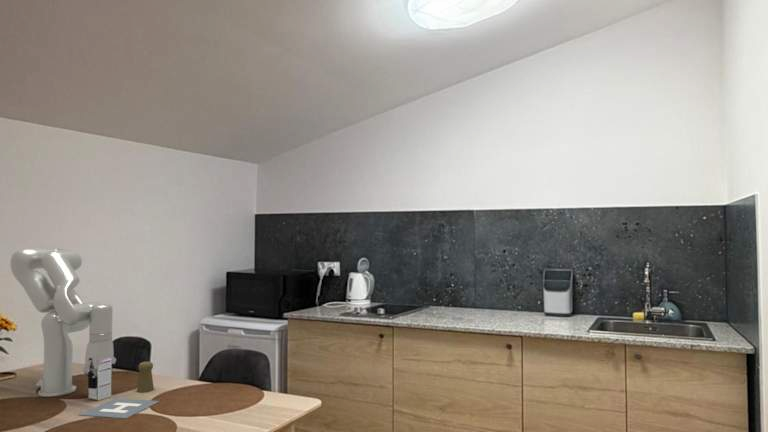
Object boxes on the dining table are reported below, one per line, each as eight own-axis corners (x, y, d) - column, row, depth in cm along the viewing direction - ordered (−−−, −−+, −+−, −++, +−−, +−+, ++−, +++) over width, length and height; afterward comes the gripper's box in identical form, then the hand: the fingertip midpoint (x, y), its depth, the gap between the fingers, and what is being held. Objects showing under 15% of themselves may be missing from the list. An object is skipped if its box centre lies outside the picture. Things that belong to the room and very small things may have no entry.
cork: (147, 393, 200) (148, 364, 200) (133, 392, 201) (133, 363, 201) (157, 388, 205) (157, 360, 206) (143, 387, 206) (143, 359, 207)
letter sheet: (78, 415, 175) (78, 414, 175) (115, 398, 192) (115, 398, 192) (126, 418, 171) (126, 417, 171) (159, 401, 189) (159, 401, 189)
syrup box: (111, 396, 195) (112, 357, 196) (97, 401, 190) (98, 361, 190) (101, 394, 197) (102, 356, 198) (86, 399, 192) (87, 359, 193)
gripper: (108, 332, 204) (107, 378, 203) (74, 341, 187) (73, 391, 186) (125, 333, 202) (124, 379, 201) (92, 342, 185) (91, 392, 184)
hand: (99, 385), depth 194 cm, fingers closed on syrup box, 6 cm apart
